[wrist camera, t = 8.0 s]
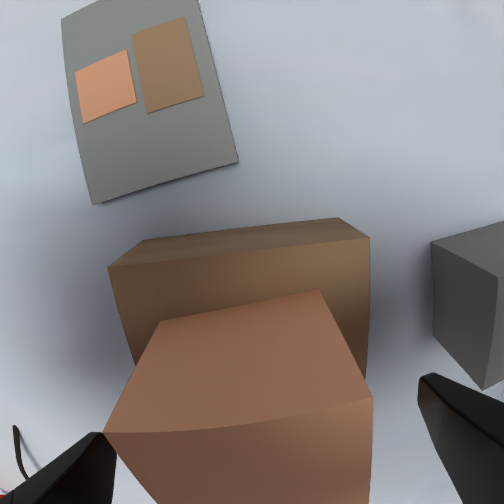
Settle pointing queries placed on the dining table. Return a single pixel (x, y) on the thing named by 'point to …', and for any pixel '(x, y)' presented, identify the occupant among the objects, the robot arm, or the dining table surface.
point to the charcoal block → (471, 301)
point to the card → (143, 95)
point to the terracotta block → (248, 409)
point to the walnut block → (245, 276)
